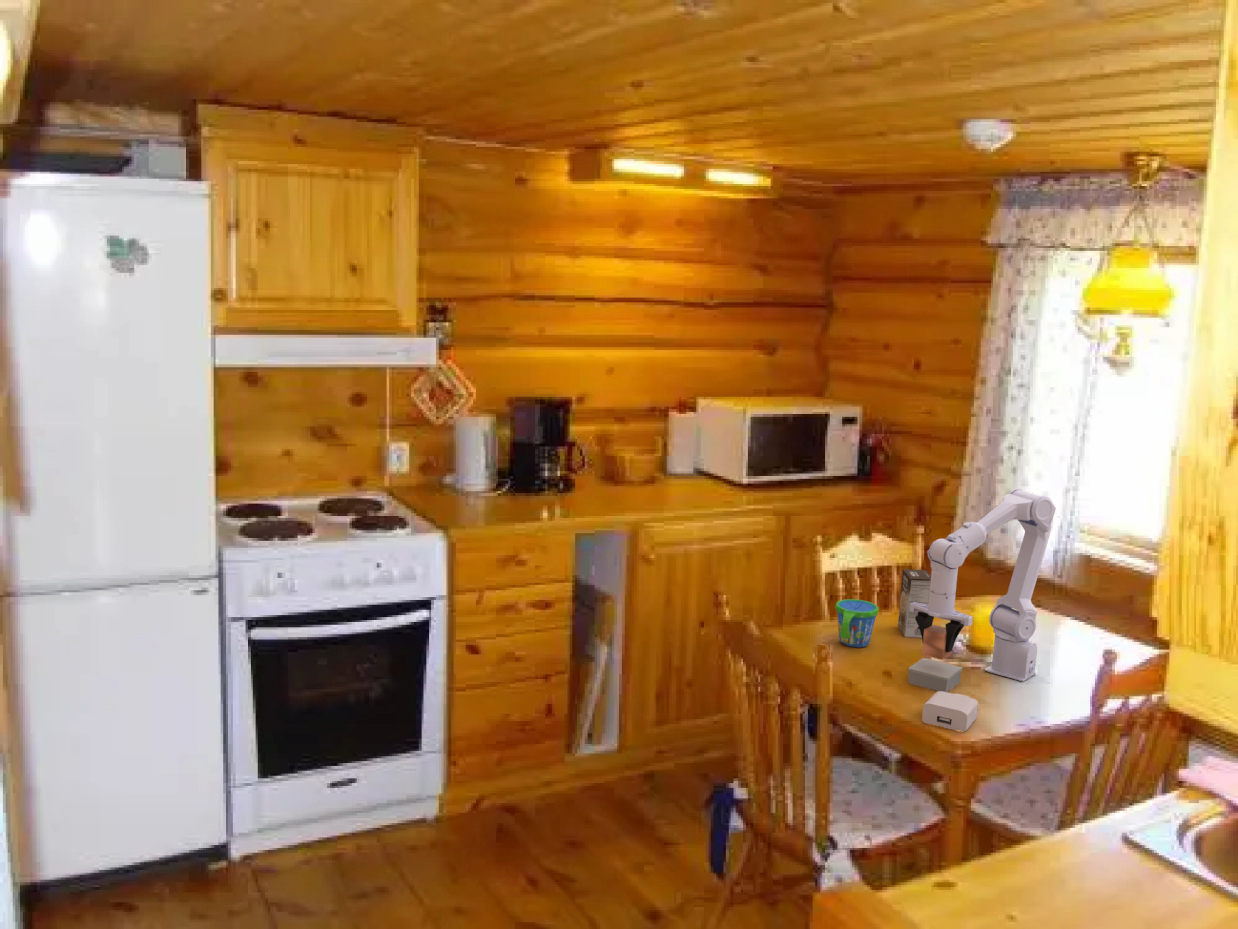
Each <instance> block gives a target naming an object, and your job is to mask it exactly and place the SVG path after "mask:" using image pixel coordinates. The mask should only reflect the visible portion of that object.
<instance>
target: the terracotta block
mask: <svg viewBox="0 0 1238 929" xmlns="http://www.w3.org/2000/svg"><path fill="white" fill-rule="evenodd" d="M945 647H946V626H945V627H944V626H941V625H936V624H932V626H930V627H928V628H926V629H924V637H923V642H922V648H921V649H922V650H921V655H923V656H928V657H931V658H933V659H938V660H944V659H946V658H948V657H950V656H951V655H952V652H953V650H952V651H951V652H949V653H948V652H946V650H945Z"/></svg>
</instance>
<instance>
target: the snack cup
mask: <svg viewBox="0 0 1238 929" xmlns="http://www.w3.org/2000/svg"><path fill="white" fill-rule="evenodd" d="M834 607H835V610H836V613H837V627H838V638H839V643H841V644H843V645H844V646H847V647H853V648H865V647H867V646H868V645H869V644H870V642H871V638H872V633H873V631H874V630H873V629H874V627H875V622H876V617H877V615H878V613H879V610H880V608H879V607H878V605H877V604H875V603H873V602H871V601H867V600H862V599H857V598H855V599H851V598H850V599H849V598H847V599H841V600H838V601H837V602H835V606H834Z"/></svg>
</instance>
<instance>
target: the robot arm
mask: <svg viewBox="0 0 1238 929" xmlns="http://www.w3.org/2000/svg"><path fill="white" fill-rule="evenodd" d="M1056 509H1057V508H1056V506H1055V504H1054V502H1053V500H1052V499H1051V497H1049V496H1046V495H1040V494H1036V493H1033V492H1029V491H1026V490H1023V489H1021V488H1014V489H1012V490H1010V491H1009V492H1008V493H1007V494H1005V495H1004V496H1003V498H1002V502H1001V503H999V504H998V505H997V506H995V507H994V508H993V509H992V510H991V511H989V512H988V513H987V514H986V515H985V516H983V517H982V518H981V519H979V520H978V521H977V522H975V521H969V522H968V521H966V522H964V523H963V524H962V526H961V527H960V528H958V529H957V530H955V531H954V532H953V533H949V534H948V535H947V536H946V537H945V538H938V539H936V540H934V541H933V542H932V543H931V545H930V547H929V549H928V550H927V557H928V559H929V561H930V568H931V574H930V576H931V583H930V594H929V604H922V603H917V602H913V603H911V604H910V612H918V614H917V616H915V620H916V622H917V624H918V626H919V629H920V632H921V636H922V638H921V640H922V641H921V642H922V643H923V637H924V629H926V628H928V627H930V626H932V625H933V623H934V620H935V618H937V619H938V618H939V619H942V620H945V621H949V622H947V623H945V628H946V647H945V650H946V652H948V653H949V652H951V651H952V652H953V649H954V645H955V643H956V641H957V638H958V636H959V634H960V633H961V631H962V629H963V628H964V627H970V626H972V625H973V618H974V617H973V615H972V616H971V615H968V614H966V613H963V612H960V611H958V610H956V609H955V605H956V603H955V602H956V593H957V592H956V591H957V584H958V582H957V581H958V572H959V567H961V566H962V565H963V564H964V563H965V560H966V558H967V557H968V556H969V554H970V553H971V552H972V551H974V550H976V549H977V548H978V547H980V546H981V545H982V544H984V543H985V542H986V540H987V535H988V534H990V533H992V532H993V531H995V530H997V529H998V528H1000V527H1001V526H1004V525H1005V524H1007V523H1008V522H1010V521H1012V520H1016V521H1018V522H1019V523H1020V525H1021V527H1022V528H1023V530H1024V534H1023V538H1022V541H1021V544H1020V547H1019V548H1020V549H1019V552H1018V556H1017V559H1016V563H1015V565H1014V569H1013V572H1012V576H1011V579H1010V582H1009V586H1008V588H1007V589H1008V590H1007V593H1006V594H1005V595H1002V596H1001V597H999V598H998V599H997V600H996V604H995V606H994V607H993V609H992V610H991V611H990V614H989V625H990V627H991V628H992V629H993V630H992V631H993V633H994V640H993V641H994V642H993V651H992V658H991V659H992V660H991V664H990V665H989V666H988V667H986V668H985V669H984V671H985V672H988V673H992V674H995V675H999V676H1001V677H1005V678H1009V679H1013V680H1015V681H1020V682H1024V681H1026V680H1028V679H1029V678H1031V677H1032V676H1034V675H1036V674H1037V672H1036V665H1037V664H1036V663H1037V657H1038V656H1037V654H1038V645H1037V643H1036V642H1034V641H1031V640H1030V639H1031V638H1032V637H1033V635H1034V634H1035V631H1036V628H1037V621H1036V620H1037V615H1038V612H1037V609H1036V608H1035V606H1034V604H1033V603H1032V598H1033V593H1034V590H1035V586H1036V584H1037V580H1038V576H1039V573H1040V570H1041V566H1042V562H1043V559H1044V557H1045V552H1046V550H1047V545H1048V542H1049V539H1050V536H1051V532H1052V524H1053V523H1052V522H1053V519H1054V516H1055V513H1056Z"/></svg>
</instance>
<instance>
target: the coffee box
mask: <svg viewBox="0 0 1238 929" xmlns="http://www.w3.org/2000/svg"><path fill="white" fill-rule="evenodd" d="M901 574H902V576H901V587H900V598H899V606H898V607H899V608H898V619H897V627H898V628H899V631H901V633H902V634H903V636H904V637H905V638H920V639H922V636H921V632H920V629H919V626H918V624H917V622H916V620H915V616H917V614H918V612H910V604H911V603H913V602H917V603H922V604H929V594H930V583H931V574H930V573H929V572H928V571H927V570H926V569H911V568H910V569H909V568H908V569H905V568H902V573H901Z"/></svg>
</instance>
